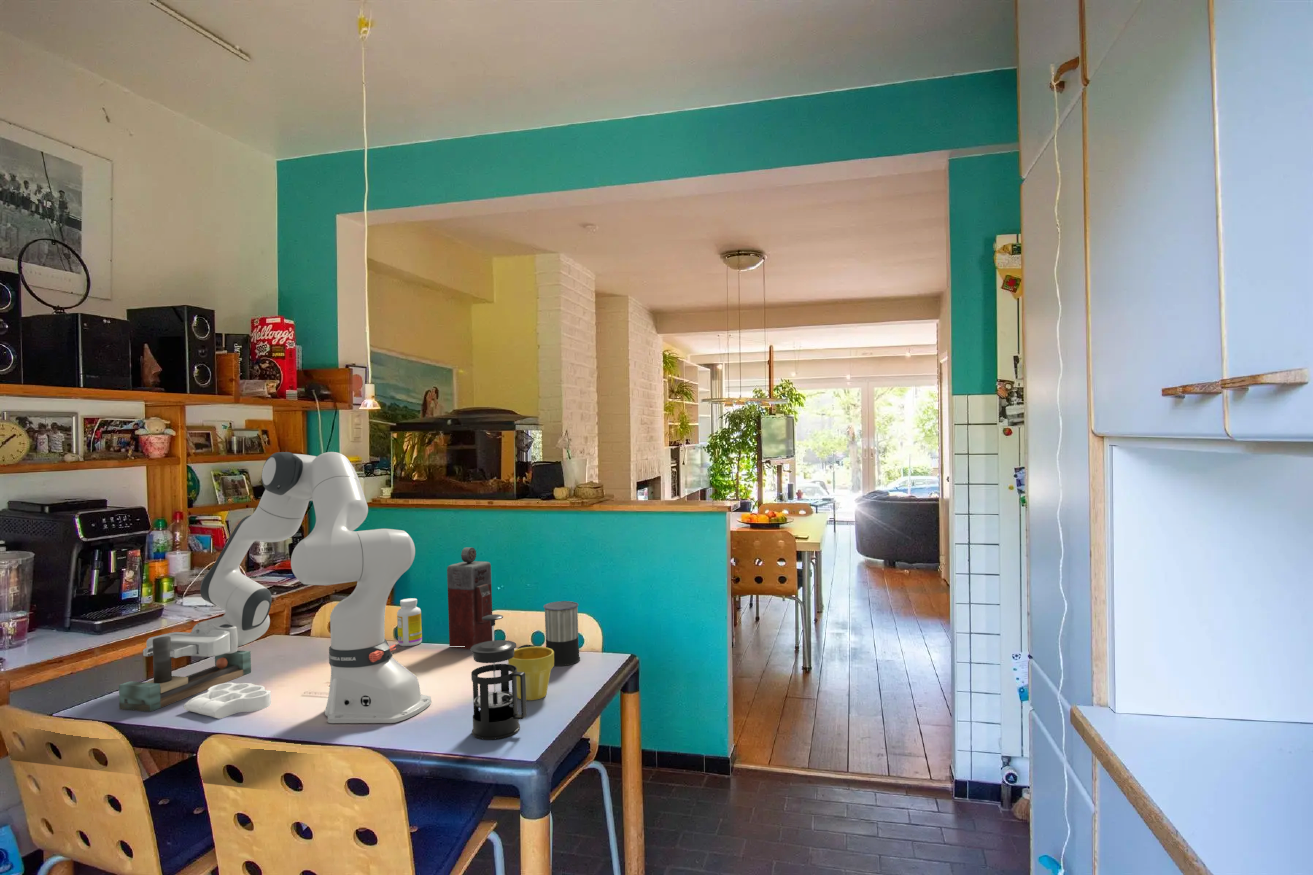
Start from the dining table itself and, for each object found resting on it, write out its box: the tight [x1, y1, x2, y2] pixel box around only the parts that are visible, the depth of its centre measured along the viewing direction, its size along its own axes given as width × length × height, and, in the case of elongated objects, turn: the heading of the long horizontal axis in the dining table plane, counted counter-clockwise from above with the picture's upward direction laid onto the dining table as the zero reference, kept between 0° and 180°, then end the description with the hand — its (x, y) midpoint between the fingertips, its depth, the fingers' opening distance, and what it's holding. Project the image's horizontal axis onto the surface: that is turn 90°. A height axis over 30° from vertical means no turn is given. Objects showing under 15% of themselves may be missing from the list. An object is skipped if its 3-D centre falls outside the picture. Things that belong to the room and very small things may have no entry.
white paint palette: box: [183, 682, 272, 719], centre depth 164 cm, size 3×18×15 cm
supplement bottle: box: [396, 597, 423, 647], centre depth 212 cm, size 7×7×13 cm
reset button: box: [216, 657, 228, 669], centre depth 186 cm, size 3×1×3 cm, turn 75°
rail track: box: [118, 650, 252, 713], centre depth 177 cm, size 9×28×6 cm, turn 165°
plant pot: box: [507, 646, 555, 701], centre depth 164 cm, size 10×10×10 cm
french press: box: [470, 613, 528, 741], centre depth 145 cm, size 12×9×23 cm
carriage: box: [145, 636, 188, 693], centre depth 170 cm, size 7×7×12 cm
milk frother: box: [517, 600, 581, 667], centre depth 190 cm, size 14×16×15 cm
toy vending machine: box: [446, 546, 493, 651], centre depth 208 cm, size 9×11×28 cm
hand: (158, 653), depth 169 cm, fingers open, 7 cm apart
